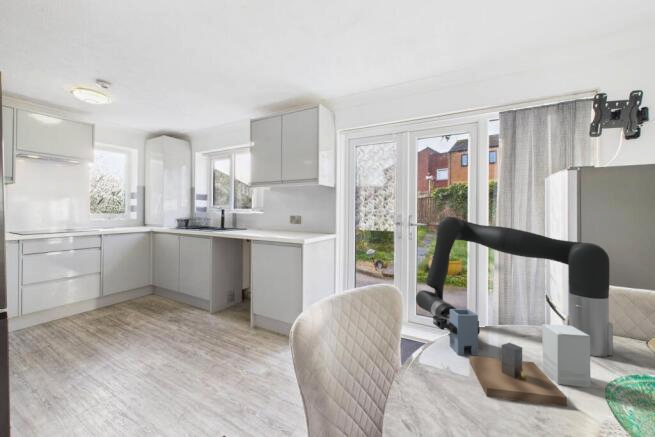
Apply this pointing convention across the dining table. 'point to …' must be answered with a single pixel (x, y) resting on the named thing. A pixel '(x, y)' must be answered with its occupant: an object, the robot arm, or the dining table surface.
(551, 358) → the supplement box
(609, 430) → the dining table surface
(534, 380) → the base plate
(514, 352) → the post
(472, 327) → the sleeve
